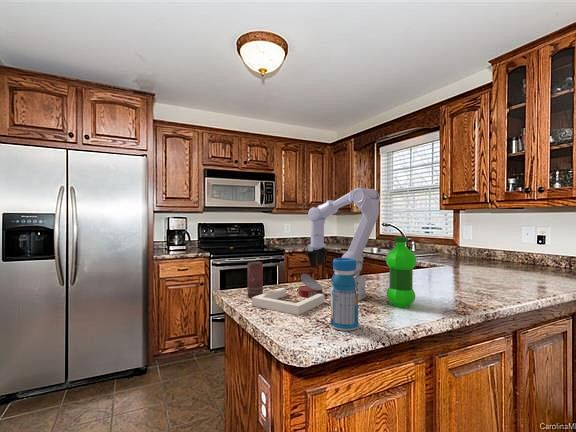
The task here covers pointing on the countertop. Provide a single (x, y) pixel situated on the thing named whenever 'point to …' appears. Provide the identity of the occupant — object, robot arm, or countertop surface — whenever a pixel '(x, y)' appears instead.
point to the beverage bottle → (344, 295)
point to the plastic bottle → (401, 274)
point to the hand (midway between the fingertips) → (317, 266)
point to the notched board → (298, 308)
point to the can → (255, 278)
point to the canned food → (309, 287)
